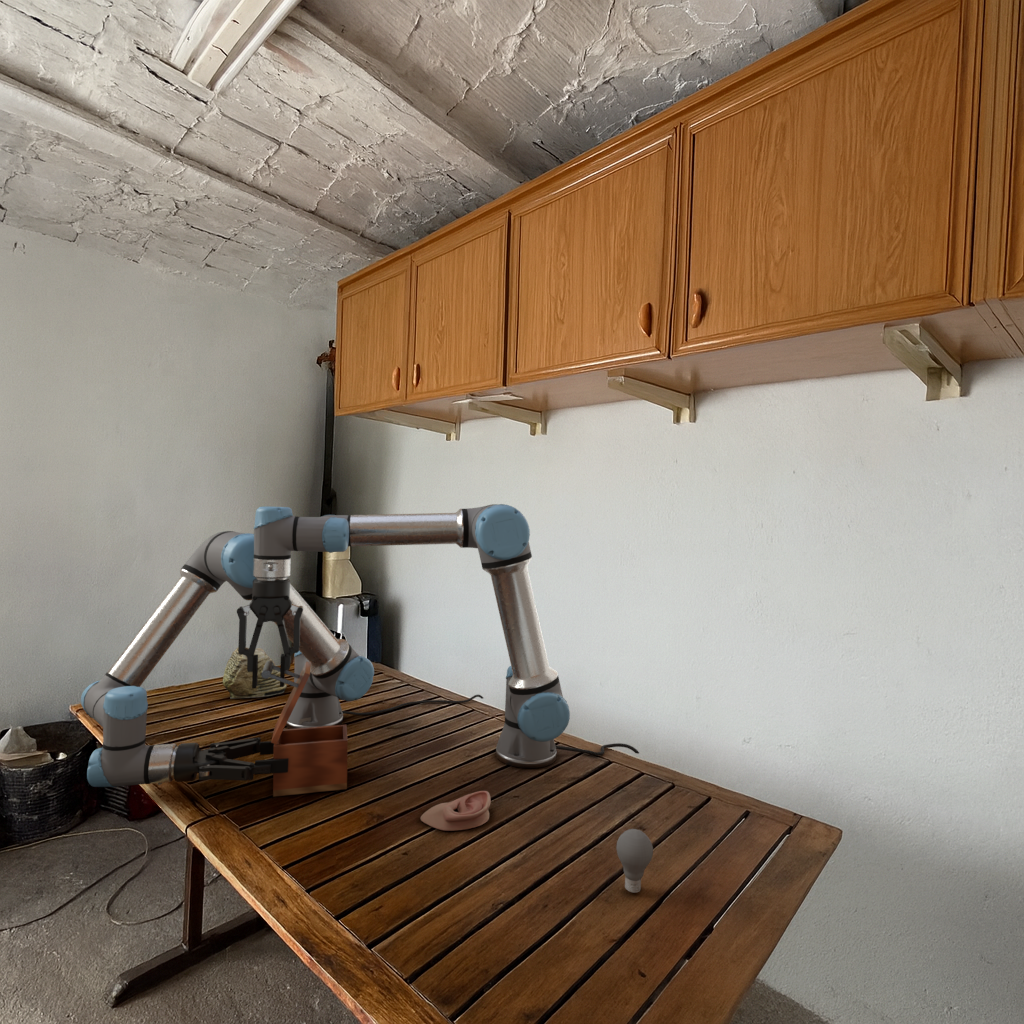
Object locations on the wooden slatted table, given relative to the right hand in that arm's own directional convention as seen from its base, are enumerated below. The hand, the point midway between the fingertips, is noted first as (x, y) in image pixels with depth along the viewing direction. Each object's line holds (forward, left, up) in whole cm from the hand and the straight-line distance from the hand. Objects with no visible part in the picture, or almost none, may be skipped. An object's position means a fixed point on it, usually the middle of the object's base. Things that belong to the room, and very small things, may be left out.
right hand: (268, 685), depth 137 cm
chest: (-9, +1, -22) cm, 24 cm away
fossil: (+1, -67, -22) cm, 70 cm away
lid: (-5, +1, -4) cm, 7 cm away
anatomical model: (-35, +25, -22) cm, 49 cm away
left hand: (-5, 0, -16) cm, 16 cm away
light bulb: (-56, +57, -22) cm, 83 cm away
